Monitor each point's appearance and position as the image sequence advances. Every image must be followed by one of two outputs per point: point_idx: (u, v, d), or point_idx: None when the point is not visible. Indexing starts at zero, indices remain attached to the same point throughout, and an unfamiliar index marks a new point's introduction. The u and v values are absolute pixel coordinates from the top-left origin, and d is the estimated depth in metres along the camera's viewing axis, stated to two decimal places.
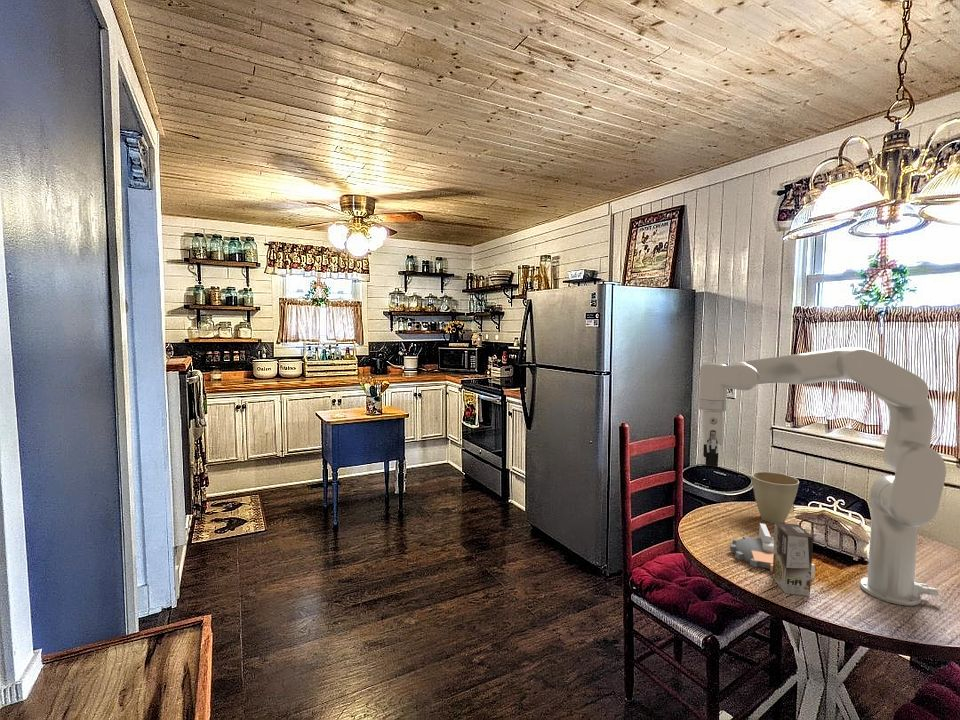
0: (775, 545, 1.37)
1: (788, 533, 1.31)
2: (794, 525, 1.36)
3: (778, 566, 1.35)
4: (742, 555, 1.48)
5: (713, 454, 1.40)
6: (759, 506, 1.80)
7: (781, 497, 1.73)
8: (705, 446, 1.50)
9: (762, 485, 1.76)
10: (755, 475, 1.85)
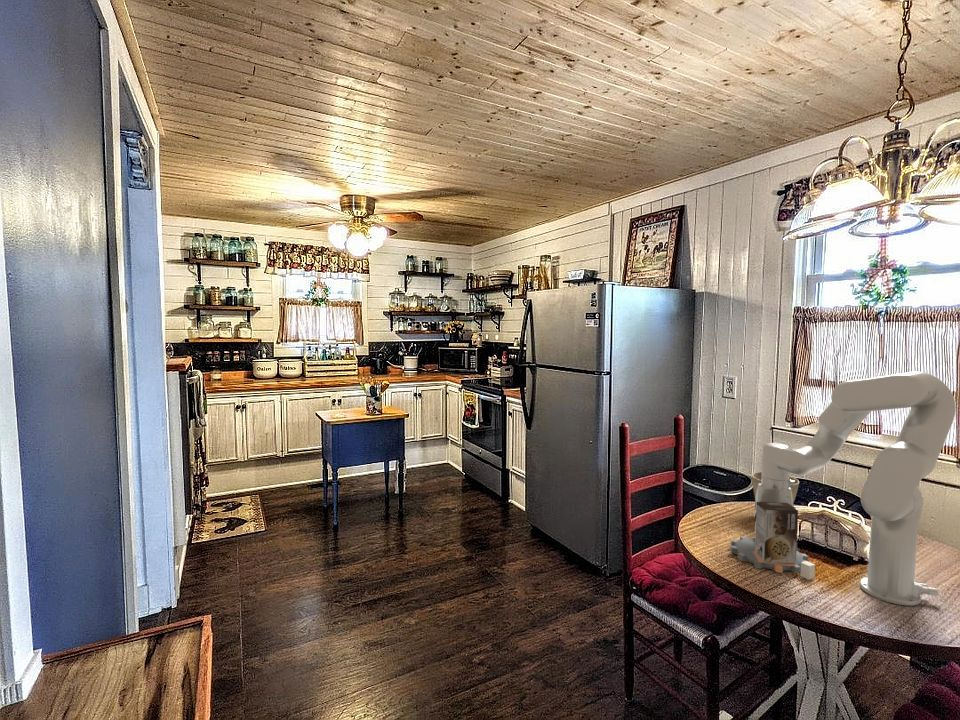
0: (770, 529, 1.41)
1: (791, 509, 1.41)
2: (761, 503, 1.46)
3: (779, 545, 1.41)
4: (745, 557, 1.47)
5: None
6: None
7: None
8: None
9: None
10: (755, 475, 1.85)
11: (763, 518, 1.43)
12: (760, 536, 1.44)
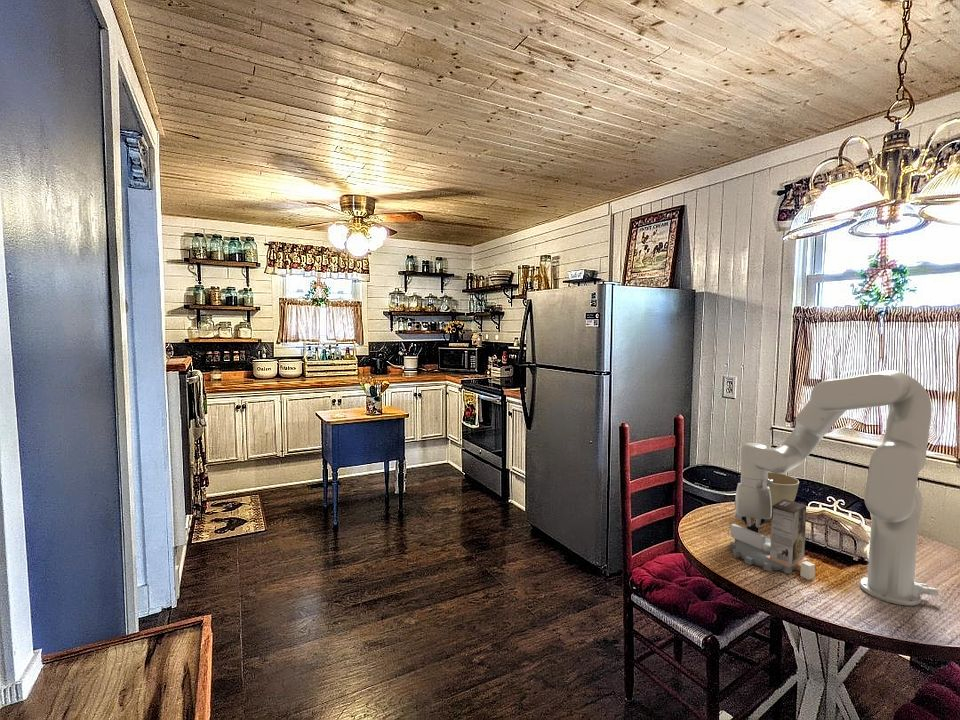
0: (796, 531, 1.41)
1: (802, 505, 1.44)
2: (778, 506, 1.44)
3: (799, 544, 1.43)
4: (771, 565, 1.42)
5: None
6: None
7: (781, 497, 1.73)
8: None
9: None
10: None
11: (789, 521, 1.41)
12: (784, 539, 1.42)
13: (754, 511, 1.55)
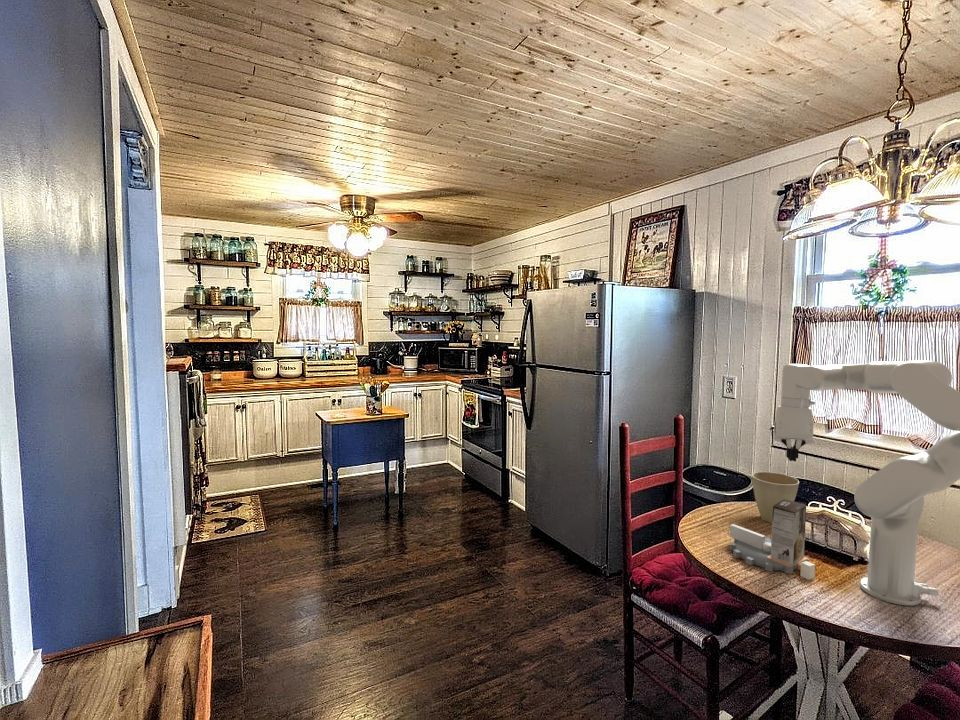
0: (797, 531, 1.41)
1: (802, 505, 1.44)
2: (778, 506, 1.44)
3: (799, 544, 1.43)
4: (772, 565, 1.42)
5: None
6: (759, 506, 1.80)
7: (781, 497, 1.73)
8: None
9: (762, 485, 1.76)
10: (755, 475, 1.85)
11: (790, 521, 1.41)
12: (785, 539, 1.42)
13: (795, 432, 1.52)
